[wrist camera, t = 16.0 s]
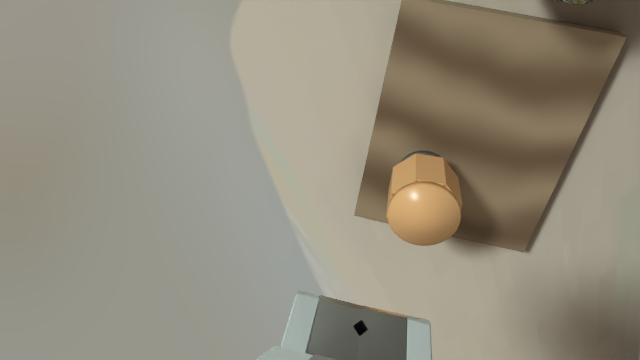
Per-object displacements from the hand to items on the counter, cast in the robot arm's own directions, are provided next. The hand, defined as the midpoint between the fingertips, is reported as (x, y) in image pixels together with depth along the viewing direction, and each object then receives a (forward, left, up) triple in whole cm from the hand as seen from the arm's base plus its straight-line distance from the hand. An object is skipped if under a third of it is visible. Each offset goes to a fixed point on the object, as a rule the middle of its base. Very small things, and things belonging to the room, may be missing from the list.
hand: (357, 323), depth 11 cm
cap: (+12, +5, -28) cm, 31 cm away
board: (+8, +8, -31) cm, 33 cm away
